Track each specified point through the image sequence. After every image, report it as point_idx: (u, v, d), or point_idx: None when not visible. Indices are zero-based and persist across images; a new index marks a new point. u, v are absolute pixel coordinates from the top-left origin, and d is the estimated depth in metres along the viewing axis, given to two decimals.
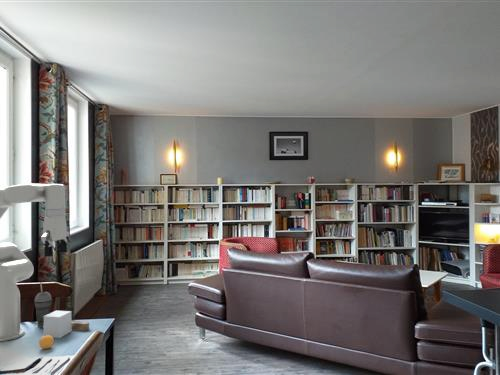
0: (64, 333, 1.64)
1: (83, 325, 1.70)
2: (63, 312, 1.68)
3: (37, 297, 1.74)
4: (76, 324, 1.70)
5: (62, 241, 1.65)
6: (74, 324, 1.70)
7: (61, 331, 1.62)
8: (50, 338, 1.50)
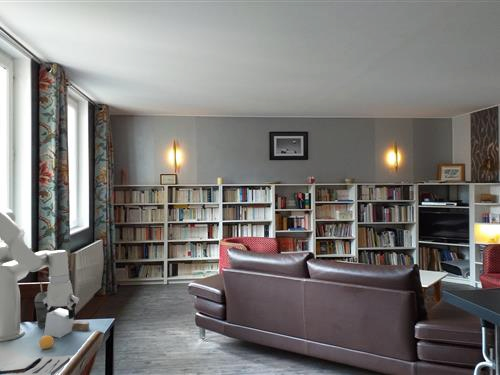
0: (64, 333, 1.64)
1: (83, 325, 1.70)
2: (66, 311, 1.68)
3: (37, 297, 1.74)
4: (76, 324, 1.70)
5: (51, 307, 1.67)
6: (74, 324, 1.70)
7: (62, 331, 1.62)
8: (50, 338, 1.50)
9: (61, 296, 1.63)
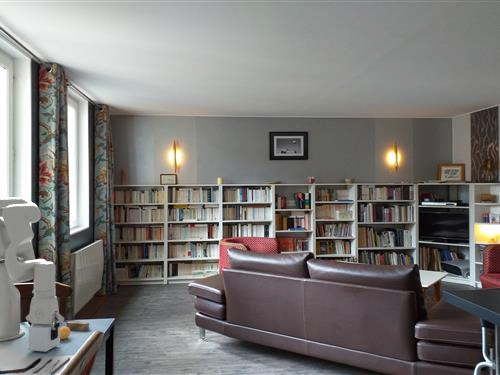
0: (51, 346, 1.48)
1: (83, 325, 1.70)
2: None
3: None
4: (76, 324, 1.70)
5: None
6: (74, 324, 1.70)
7: (48, 344, 1.46)
8: (66, 337, 1.59)
9: (45, 313, 1.47)
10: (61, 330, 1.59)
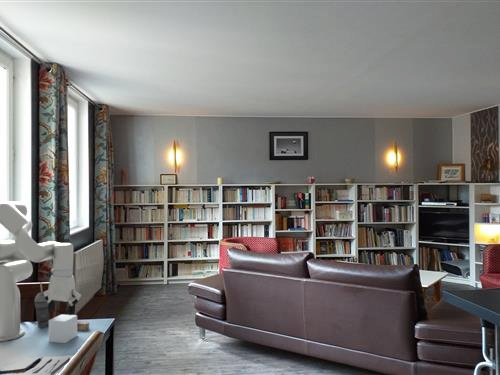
0: (70, 338, 1.59)
1: (83, 325, 1.70)
2: (69, 316, 1.63)
3: (37, 297, 1.74)
4: None
5: (51, 301, 1.62)
6: None
7: (67, 336, 1.57)
8: None
9: (63, 291, 1.58)
10: None
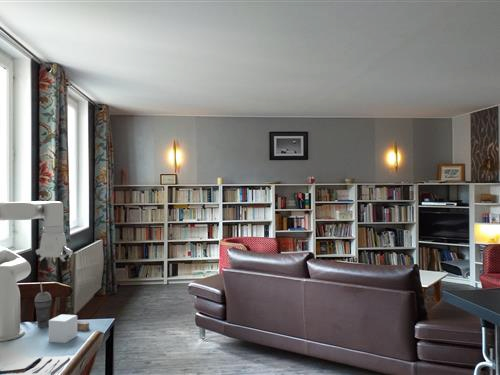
0: (70, 338, 1.59)
1: (83, 325, 1.70)
2: (69, 316, 1.63)
3: (37, 297, 1.74)
4: None
5: (43, 258, 1.65)
6: None
7: (67, 336, 1.57)
8: None
9: (54, 247, 1.61)
10: None
